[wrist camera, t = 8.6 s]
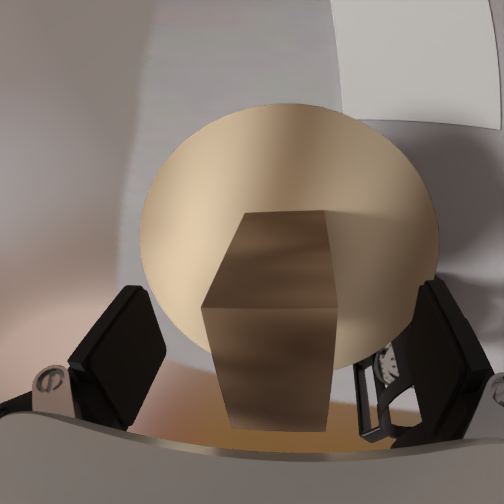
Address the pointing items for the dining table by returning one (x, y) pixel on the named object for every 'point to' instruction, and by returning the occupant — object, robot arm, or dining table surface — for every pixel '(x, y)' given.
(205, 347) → the lid
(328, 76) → the dining table surface
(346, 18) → the mat
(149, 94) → the dining table surface
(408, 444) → the french press
